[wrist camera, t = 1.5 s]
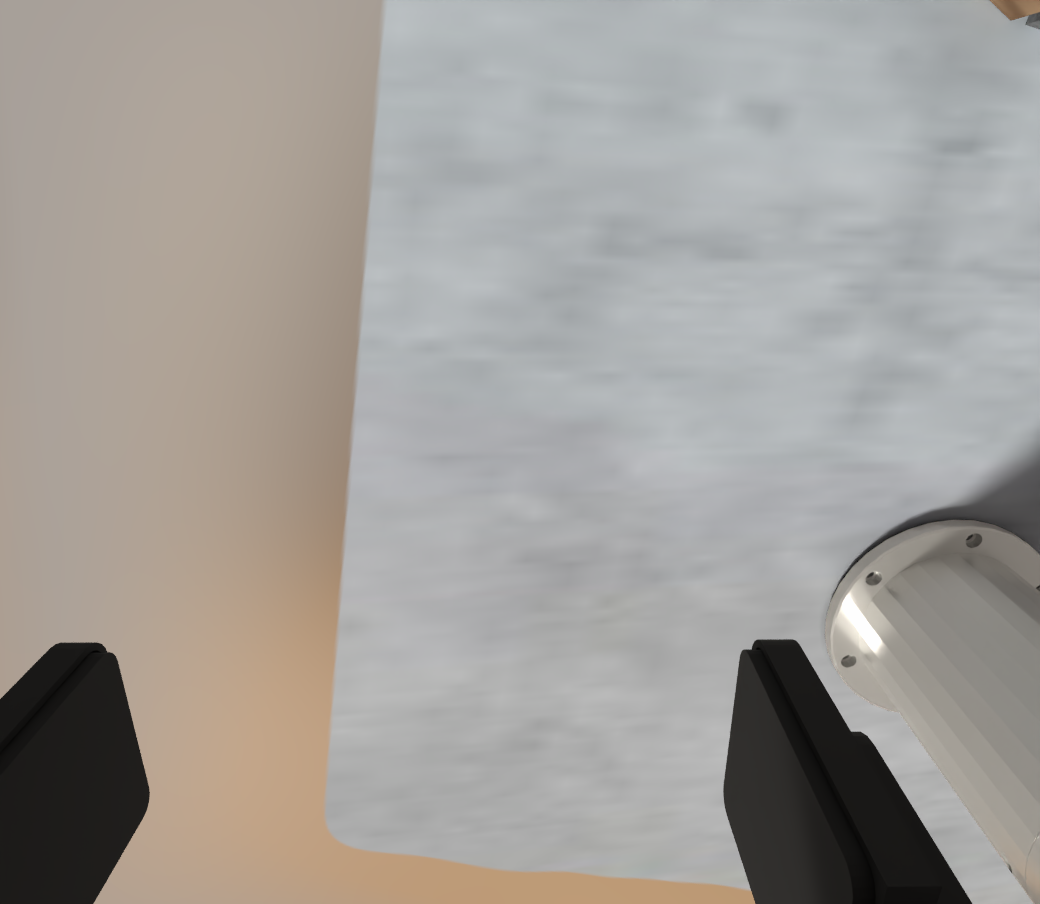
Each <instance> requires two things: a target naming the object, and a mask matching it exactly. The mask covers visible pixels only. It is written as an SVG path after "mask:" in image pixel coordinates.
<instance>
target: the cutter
mask: <svg viewBox="0 0 1040 904" xmlns="http://www.w3.org/2000/svg"><path fill="white" fill-rule="evenodd" d="M1025 25H1029V26H1032V27H1035V28H1038V29H1040V12H1038V13H1035V14H1031V15H1029V18H1028V20H1027V22H1026V24H1025Z"/></svg>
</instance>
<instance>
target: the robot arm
mask: <svg viewBox="0 0 1040 904" xmlns="http://www.w3.org/2000/svg"><path fill="white" fill-rule="evenodd" d="M825 640H826V646H827V651H828V654H829V656H830V659H831V661H832V663H833V665H834V667H835V669H836V670H837V672H838V673H839V675H840V676H841V678H842V679H843V681H844V683H845V684H846V685H847V686H848V687H849V688H850V689H851V690H852V691H853V692H854V693H855V694H856V695H858V696H859V697H861V698H862V699H864V700H866V701H867V702H869V703H870V704H872V705H875V706H878V707H880V708H883V709H885V710H888V711H893V712H899V713H900V715H901V716H902V717H903V719H904V720H905V722H906V723H907V725H908V726H909V727H910V729H911V730H912V732H913V733H914V734H915V736H916V737H917V739H918V740H919V742H920V743H921V744H922V746H923V747H924V749H925V750H926V752H927V753H928V754H929V756H930V757H931V759H932V760H933V762H934V763H935V764H936V766H937V767H938V769H939V770H940V771H941V773H942V774H943V776H944V777H945V779H946V780H947V781H948V783H949V784H950V786H951V787H952V789H953V790H954V791H955V793H956V794H957V796H958V797H959V799H960V800H961V801H962V803H963V804H964V806H965V807H966V808H967V810H968V811H969V813H970V814H971V816H972V817H973V818H974V820H975V821H976V823H977V824H978V826H979V827H980V828H981V830H982V831H983V833H984V834H985V835H986V837H987V838H988V840H989V841H990V843H991V844H992V845H993V847H994V848H995V850H996V851H997V853H998V854H999V855H1000V857H1001V858H1002V860H1003V861H1004V863H1005V864H1006V865H1007V867H1008V868H1009V870H1010V871H1011V872H1012V874H1013V875H1014V877H1015V878H1016V880H1017V881H1018V882H1019V884H1020V885H1021V887H1022V888H1023V889H1024V891H1025V892H1026V894H1027V895H1028V896H1029V898H1030V899H1031V901H1032V902H1033V903H1034V904H1040V555H1039V554H1038V553H1037V552H1036V551H1035V550H1034V549H1033V548H1032V547H1031V546H1030V545H1029V544H1028V543H1026V542H1025V541H1023V540H1022V539H1020V538H1019V537H1018V536H1016V535H1015V534H1013V533H1012V532H1010V531H1007V530H1005V529H1003V528H1001V527H998V526H996V525H993V524H989V523H984V522H979V521H975V520H946V521H939V522H932V523H928V524H924V525H921V526H918V527H914V528H911V529H908V530H906V531H904V532H901V533H899V534H897V535H895V536H893V537H891V538H889V539H887V540H885V541H884V542H882V543H881V544H880V545H878V546H877V547H875V548H874V549H872V550H871V551H869V552H868V553H867V554H866V555H865V556H864V557H863V558H862V559H860V560H859V561H858V562H857V563H856V564H855V565H854V566H853V567H852V568H851V570H850V571H849V572H848V573H847V575H846V576H845V577H844V579H843V580H842V581H841V583H840V584H839V586H838V588H837V590H836V592H835V594H834V596H833V598H832V600H831V602H830V606H829V609H828V613H827V616H826V624H825ZM149 793H150V792H149V786H148V782H147V777H146V774H145V769H144V765H143V762H142V757H141V753H140V750H139V745H138V741H137V738H136V733H135V729H134V725H133V721H132V717H131V713H130V709H129V705H128V701H127V697H126V693H125V689H124V685H123V681H122V677H121V673H120V669H119V664H118V661H117V658H116V656H115V655H114V654H113V653H110V652H107V651H106V648H105V647H104V646H103V645H102V644H100V643H59V644H55V645H54V646H53V647H51V648H50V649H49V650H48V651H47V652H46V653H45V654H44V655H43V656H42V657H41V658H40V659H39V660H38V661H37V662H36V663H35V664H34V665H33V666H32V668H30V670H28V671H27V673H26V674H25V675H24V676H23V677H22V678H21V679H20V680H19V681H18V682H17V683H16V684H15V685H14V686H13V687H12V688H11V689H10V690H9V691H8V692H7V693H6V694H5V695H4V696H3V697H2V698H1V699H0V904H93V903H94V902H95V900H96V898H97V896H98V895H99V893H100V891H101V890H102V888H103V886H104V884H105V883H106V881H107V879H108V877H109V875H110V874H111V872H112V871H113V869H114V867H115V865H116V864H117V862H118V860H119V859H120V857H121V855H122V853H123V852H124V850H125V848H126V846H127V845H128V843H129V841H130V840H131V838H132V836H133V834H134V833H135V831H136V829H137V828H138V826H139V824H140V822H141V821H142V819H143V817H144V815H145V813H146V810H147V807H148V803H149ZM724 803H725V809H726V813H727V816H728V820H729V823H730V826H731V829H732V832H733V835H734V838H735V841H736V844H737V848H738V851H739V854H740V857H741V860H742V863H743V866H744V869H745V872H746V875H747V879H748V882H749V885H750V888H751V891H752V894H753V897H754V900H755V903H756V904H972V902H971V901H970V899H969V898H968V896H967V894H966V893H965V891H964V890H963V888H962V886H961V885H960V883H959V881H958V880H957V878H956V877H955V875H954V873H953V872H952V870H951V868H950V867H949V865H948V864H947V862H946V860H945V859H944V857H943V856H942V854H941V852H940V851H939V849H938V847H937V846H936V844H935V843H934V841H933V839H932V838H931V836H930V834H929V833H928V831H927V830H926V828H925V826H924V825H923V823H922V822H921V820H920V818H919V817H918V815H917V813H916V812H915V810H914V809H913V807H912V805H911V804H910V802H909V800H908V799H907V797H906V796H905V794H904V792H903V791H902V789H901V788H900V786H899V784H898V783H897V781H896V779H895V778H894V776H893V775H892V773H891V771H890V770H889V768H888V766H887V765H886V763H885V762H884V760H883V758H882V757H881V755H880V754H879V752H878V750H877V749H876V747H875V745H874V744H873V743H872V741H871V740H870V739H869V738H868V736H867V735H865V734H863V733H862V732H851V731H850V729H849V728H848V726H847V724H846V723H845V721H844V719H843V718H842V716H841V714H840V713H839V711H838V709H837V707H836V706H835V704H834V702H833V701H832V699H831V697H830V696H829V694H828V692H827V691H826V689H825V687H824V685H823V684H822V682H821V680H820V679H819V677H818V675H817V674H816V672H815V670H814V669H813V667H812V665H811V663H810V662H809V660H808V658H807V657H806V655H805V653H804V652H803V650H802V648H801V646H800V645H799V644H798V642H797V641H795V640H756V641H755V642H754V644H753V646H752V650H743V651H742V652H741V655H740V661H739V668H738V676H737V684H736V692H735V700H734V708H733V716H732V724H731V732H730V740H729V748H728V756H727V763H726V771H725V779H724Z"/></svg>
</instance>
